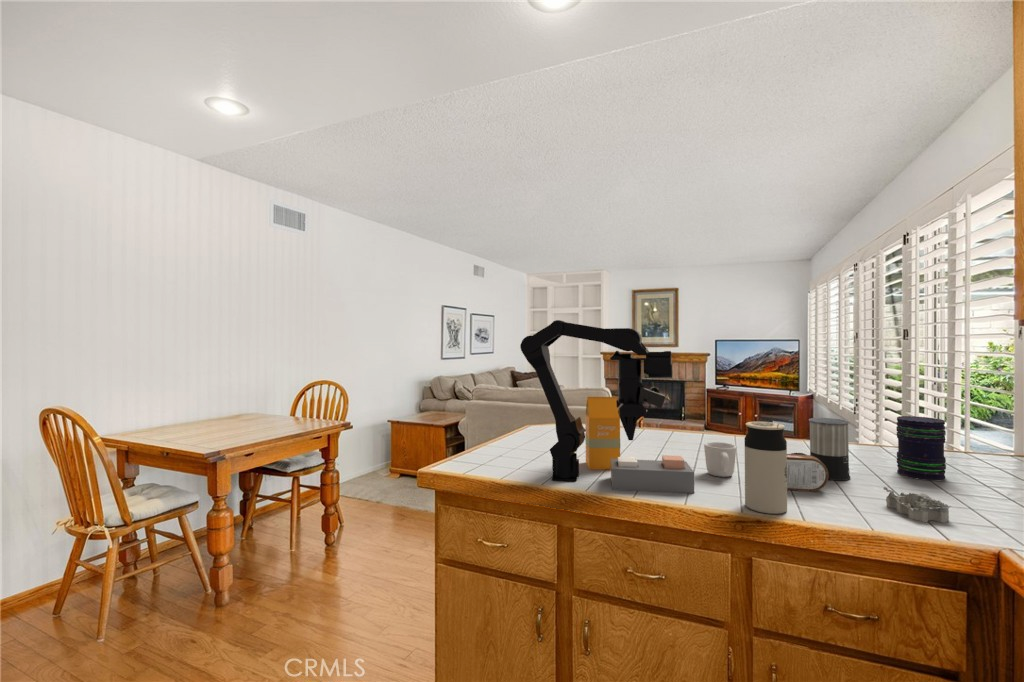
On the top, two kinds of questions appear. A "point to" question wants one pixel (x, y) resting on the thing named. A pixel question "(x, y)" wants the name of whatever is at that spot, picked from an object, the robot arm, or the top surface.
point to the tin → (805, 473)
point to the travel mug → (766, 468)
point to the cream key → (627, 462)
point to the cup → (720, 458)
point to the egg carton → (918, 506)
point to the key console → (652, 477)
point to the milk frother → (830, 446)
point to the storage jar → (921, 447)
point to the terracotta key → (672, 462)
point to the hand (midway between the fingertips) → (630, 440)
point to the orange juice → (602, 432)
